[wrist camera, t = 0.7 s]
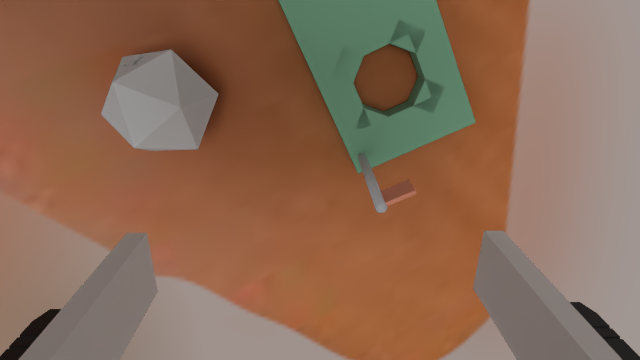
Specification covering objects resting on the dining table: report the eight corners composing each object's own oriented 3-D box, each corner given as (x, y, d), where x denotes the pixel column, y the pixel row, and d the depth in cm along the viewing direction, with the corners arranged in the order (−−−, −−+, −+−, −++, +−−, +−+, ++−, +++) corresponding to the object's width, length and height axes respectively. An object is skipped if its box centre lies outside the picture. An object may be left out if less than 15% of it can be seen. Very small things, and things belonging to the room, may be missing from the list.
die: (238, 73, 38) (163, 18, 28) (230, 164, 36) (148, 137, 27) (169, 81, 41) (80, 34, 32) (159, 165, 40) (64, 141, 30)
